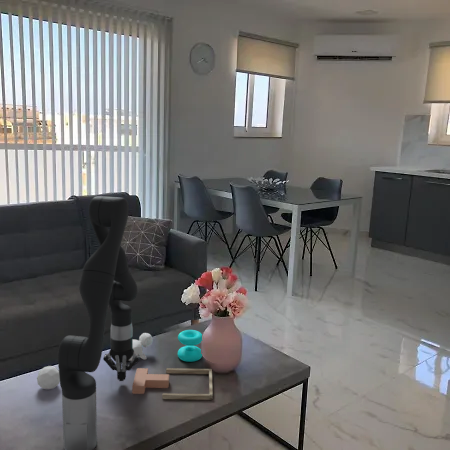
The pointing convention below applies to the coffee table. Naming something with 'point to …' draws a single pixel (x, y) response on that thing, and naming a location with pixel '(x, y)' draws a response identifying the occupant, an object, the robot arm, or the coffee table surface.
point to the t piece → (148, 381)
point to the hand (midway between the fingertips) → (121, 380)
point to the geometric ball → (48, 377)
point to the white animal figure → (137, 345)
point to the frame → (190, 396)
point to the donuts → (190, 345)
